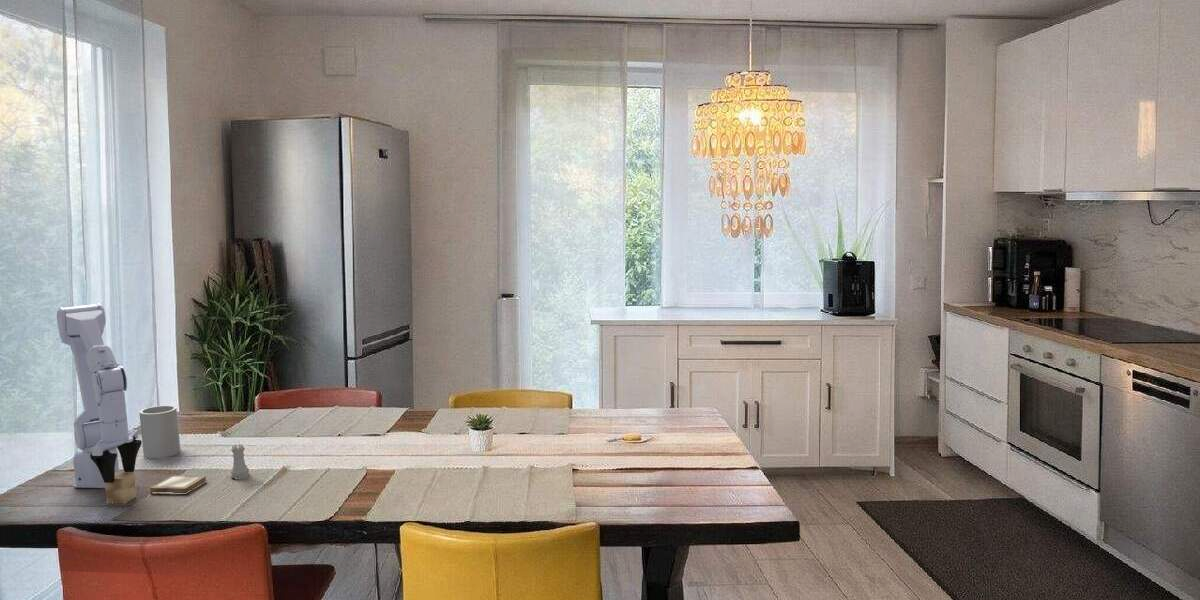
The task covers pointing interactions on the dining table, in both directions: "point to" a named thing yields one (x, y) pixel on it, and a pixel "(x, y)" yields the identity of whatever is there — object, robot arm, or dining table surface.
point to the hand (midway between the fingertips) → (119, 476)
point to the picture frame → (178, 484)
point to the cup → (159, 431)
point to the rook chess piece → (239, 462)
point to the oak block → (121, 488)
